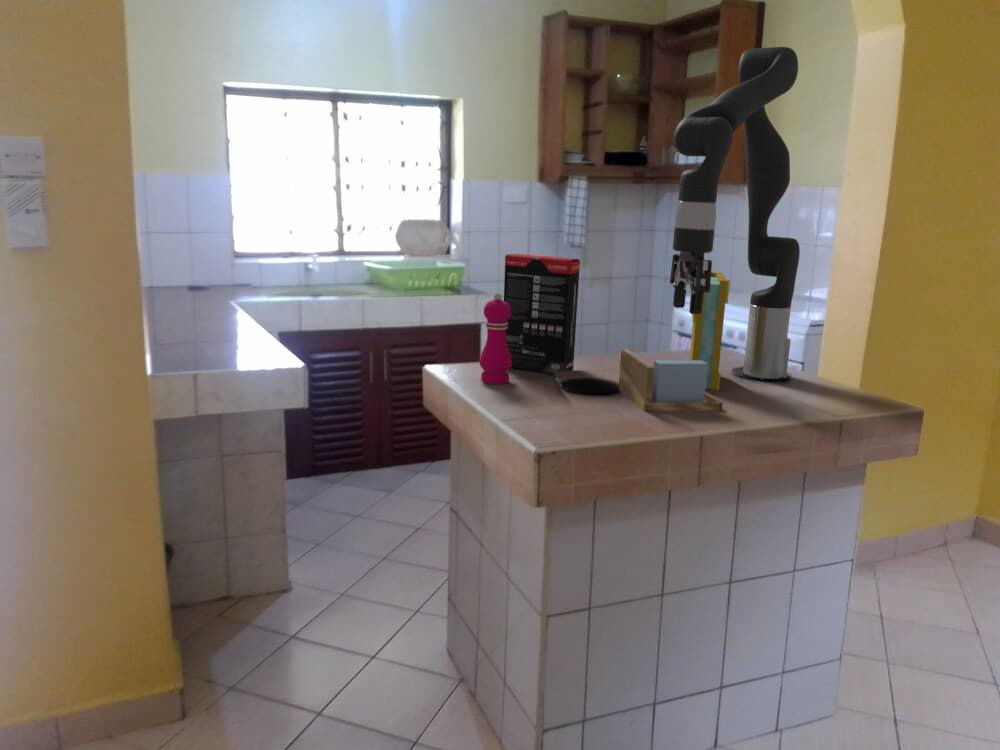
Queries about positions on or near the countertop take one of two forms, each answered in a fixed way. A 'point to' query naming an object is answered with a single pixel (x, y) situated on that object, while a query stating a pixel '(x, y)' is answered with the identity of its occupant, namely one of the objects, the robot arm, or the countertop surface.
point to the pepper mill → (496, 342)
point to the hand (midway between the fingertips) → (686, 310)
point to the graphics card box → (541, 311)
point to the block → (679, 381)
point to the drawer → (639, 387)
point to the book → (710, 328)
